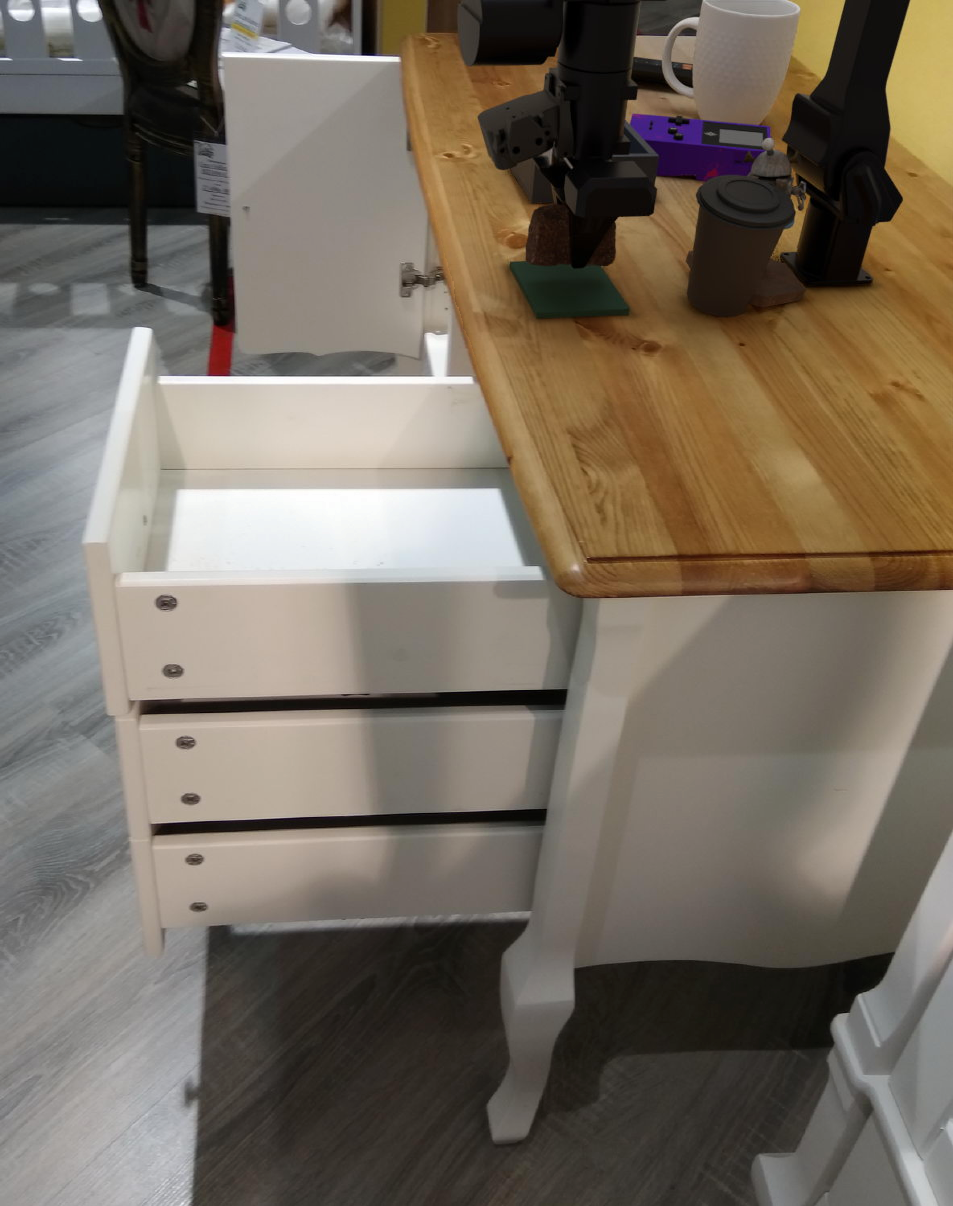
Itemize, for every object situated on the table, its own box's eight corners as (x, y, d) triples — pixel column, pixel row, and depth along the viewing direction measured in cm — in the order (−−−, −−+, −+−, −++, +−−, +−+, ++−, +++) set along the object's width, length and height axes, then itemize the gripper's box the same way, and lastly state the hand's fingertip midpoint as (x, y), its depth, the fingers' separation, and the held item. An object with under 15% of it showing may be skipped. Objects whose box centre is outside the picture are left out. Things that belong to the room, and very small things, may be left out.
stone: (610, 260, 100) (618, 202, 97) (618, 275, 98) (627, 216, 95) (522, 261, 99) (527, 203, 96) (529, 276, 97) (534, 217, 94)
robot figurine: (814, 284, 105) (865, 150, 97) (796, 318, 98) (849, 176, 90) (698, 246, 107) (739, 112, 100) (672, 277, 100) (713, 135, 93)
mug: (638, 119, 138) (656, -2, 129) (670, 97, 145) (688, -19, 137) (760, 145, 133) (787, 21, 125) (786, 121, 141) (812, 2, 132)
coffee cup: (776, 293, 101) (812, 186, 94) (747, 337, 96) (783, 227, 89) (689, 262, 103) (718, 155, 96) (656, 304, 98) (685, 194, 91)
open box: (652, 201, 117) (659, 156, 115) (531, 203, 115) (535, 157, 112) (610, 151, 128) (615, 108, 125) (498, 152, 126) (502, 109, 123)
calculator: (698, 71, 155) (702, 47, 153) (690, 96, 146) (694, 71, 144) (628, 63, 156) (631, 38, 154) (616, 86, 147) (620, 61, 145)
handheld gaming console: (633, 108, 128) (770, 121, 127) (627, 157, 132) (761, 170, 130) (626, 133, 121) (772, 148, 119) (620, 184, 124) (762, 198, 123)
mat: (629, 315, 97) (630, 308, 97) (536, 318, 95) (537, 312, 95) (595, 265, 104) (596, 258, 104) (509, 267, 103) (509, 261, 103)
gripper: (466, 29, 94) (457, 219, 104) (520, 102, 80) (504, 313, 90) (598, 30, 96) (577, 216, 106) (674, 101, 82) (641, 307, 92)
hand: (572, 259), depth 98 cm, fingers closed on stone, 3 cm apart
